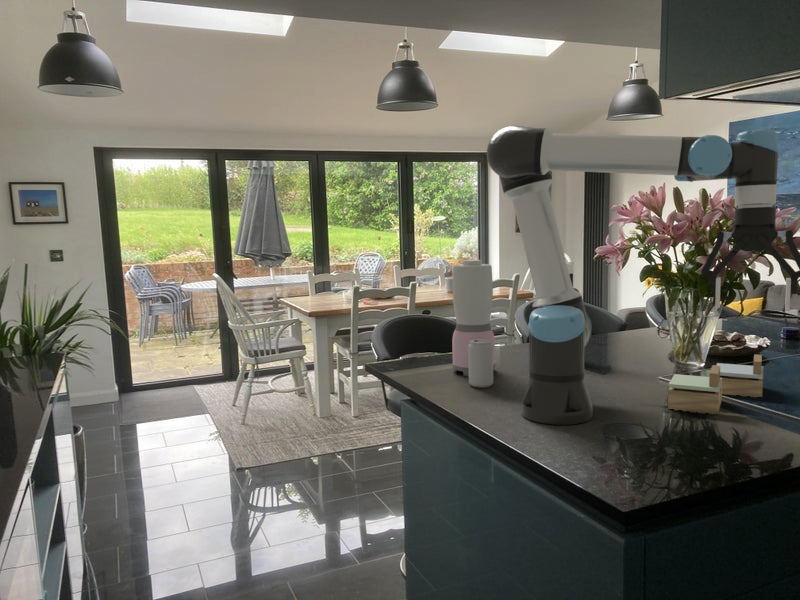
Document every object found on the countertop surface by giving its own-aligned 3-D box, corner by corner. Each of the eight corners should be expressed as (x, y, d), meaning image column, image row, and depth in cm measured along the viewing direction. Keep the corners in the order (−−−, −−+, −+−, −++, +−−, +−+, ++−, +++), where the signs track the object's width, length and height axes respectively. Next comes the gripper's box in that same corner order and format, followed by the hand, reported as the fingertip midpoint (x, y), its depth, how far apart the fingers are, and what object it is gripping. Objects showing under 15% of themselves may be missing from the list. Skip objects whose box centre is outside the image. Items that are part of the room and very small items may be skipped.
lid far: (762, 379, 144) (763, 362, 144) (714, 374, 149) (714, 359, 149) (763, 369, 153) (763, 354, 152) (717, 366, 158) (717, 351, 157)
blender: (500, 375, 176) (499, 260, 172) (458, 377, 174) (456, 262, 171) (485, 363, 192) (483, 258, 188) (446, 365, 190) (443, 259, 186)
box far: (762, 400, 145) (762, 381, 144) (713, 395, 150) (714, 377, 149) (762, 389, 153) (763, 372, 153) (716, 385, 158) (717, 368, 158)
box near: (718, 414, 135) (719, 394, 134) (668, 409, 140) (668, 390, 139) (721, 403, 144) (721, 384, 143) (673, 398, 149) (674, 379, 148)
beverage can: (474, 381, 170) (474, 337, 168) (497, 383, 167) (496, 339, 165) (464, 386, 164) (464, 341, 163) (487, 389, 161) (487, 343, 160)
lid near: (719, 392, 134) (719, 374, 134) (668, 387, 139) (668, 370, 139) (722, 381, 143) (722, 365, 142) (674, 377, 148) (674, 361, 147)
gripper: (824, 204, 129) (819, 308, 131) (692, 209, 141) (690, 304, 143) (827, 203, 122) (821, 313, 125) (689, 208, 134) (686, 308, 137)
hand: (751, 308), depth 134 cm, fingers open, 12 cm apart
